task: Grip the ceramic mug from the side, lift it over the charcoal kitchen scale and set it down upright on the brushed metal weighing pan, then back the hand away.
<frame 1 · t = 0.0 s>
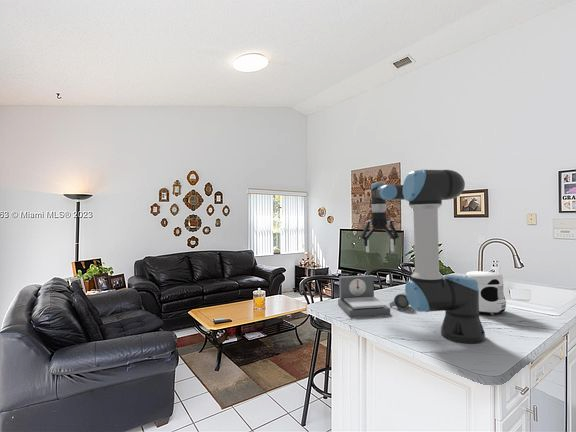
hand: (380, 251, 175), 28 cm above the table, tool pointing down, fingers open, 13 cm apart
white rounded piece: (484, 311, 158), on the table
kitchen scale: (362, 309, 166), on the table
ceramic mug: (400, 307, 168), on the table
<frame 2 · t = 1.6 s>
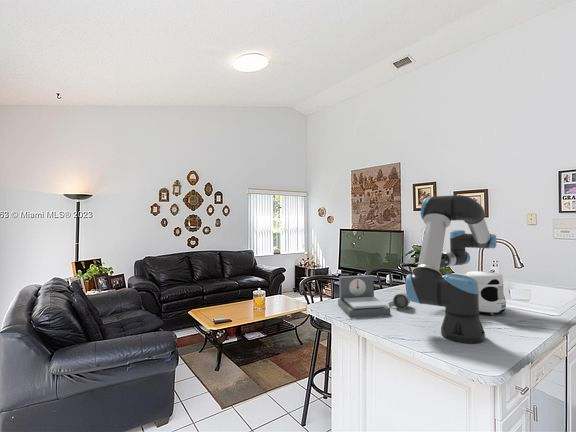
hand: (413, 262, 172), 22 cm above the table, tool horizontal, fingers open, 13 cm apart
nothing on the table moved.
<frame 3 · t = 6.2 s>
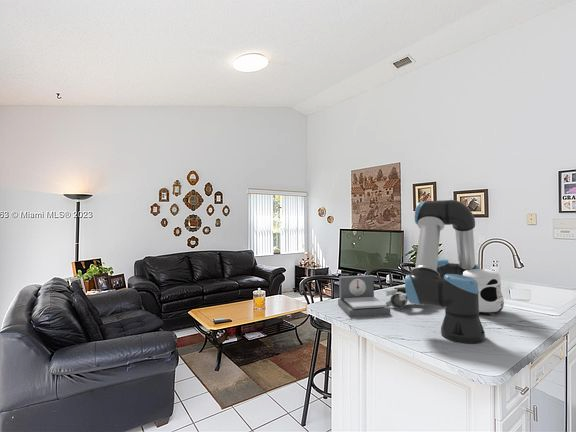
hand: (393, 295, 167), 6 cm above the table, tool horizontal, fingers closed on ceramic mug, 10 cm apart
white rounded piece: (483, 309, 158), point 1 cm above the table, touching arm
ceramic mug: (396, 307, 169), on the table, touching gripper
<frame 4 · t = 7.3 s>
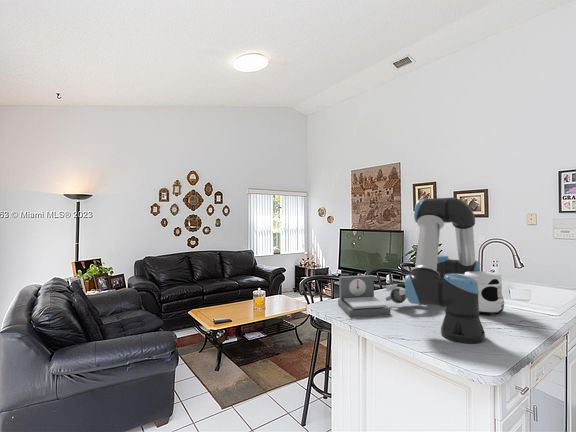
hand: (393, 290, 167), 9 cm above the table, tool horizontal, fingers closed on ceramic mug, 10 cm apart
white rounded piece: (483, 311, 158), on the table
ceramic mug: (396, 302, 169), point 2 cm above the table, touching gripper
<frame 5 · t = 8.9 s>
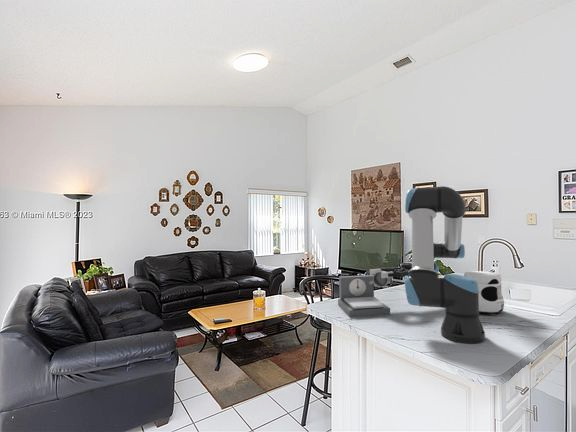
hand: (375, 273, 167), 18 cm above the table, tool horizontal, fingers closed on ceramic mug, 10 cm apart
ceramic mug: (379, 285, 168), point 11 cm above the table, touching gripper
everything else where it was.
when the fingers open (12 cm above the table, at t = 11.5 s): ceramic mug drops 1 cm, resting on kitchen scale.
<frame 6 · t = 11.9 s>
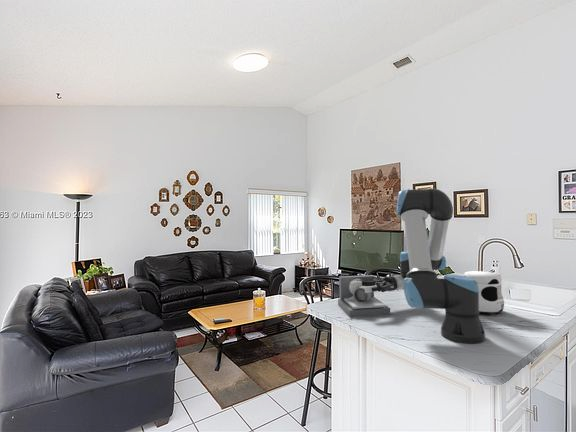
hand: (357, 287, 162), 12 cm above the table, tool horizontal, fingers open, 12 cm apart
ceramic mug: (360, 301, 164), point 4 cm above the table, touching kitchen scale
everything else where it was.
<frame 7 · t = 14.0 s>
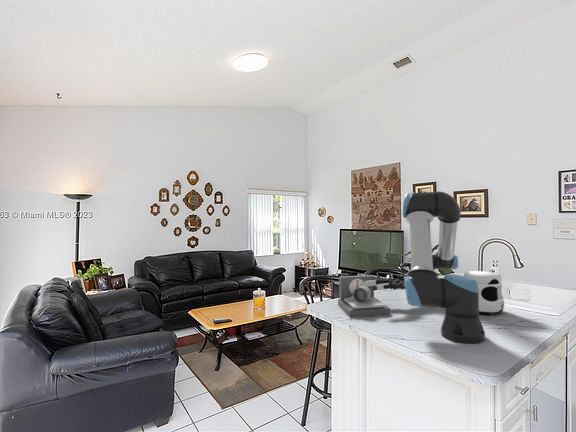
hand: (371, 285, 164), 12 cm above the table, tool horizontal, fingers open, 9 cm apart
nothing on the table moved.
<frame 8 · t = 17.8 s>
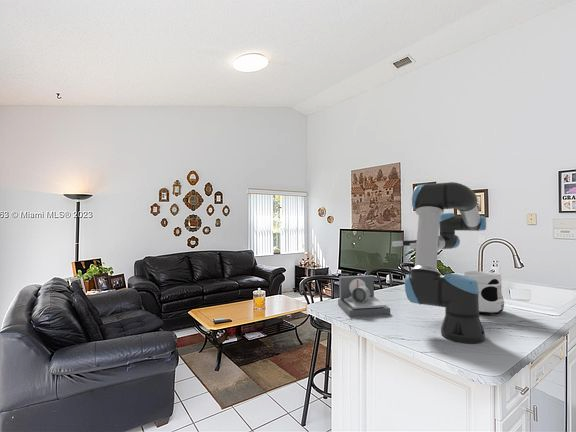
hand: (401, 245, 167), 32 cm above the table, tool horizontal, fingers open, 13 cm apart
nothing on the table moved.
at the end: ceramic mug inside the target area on the kitchen scale (2.5 cm from its centre), point 4.4 cm above the kitchen scale's base; ceramic mug tilted 1°; the gripper is holding nothing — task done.
